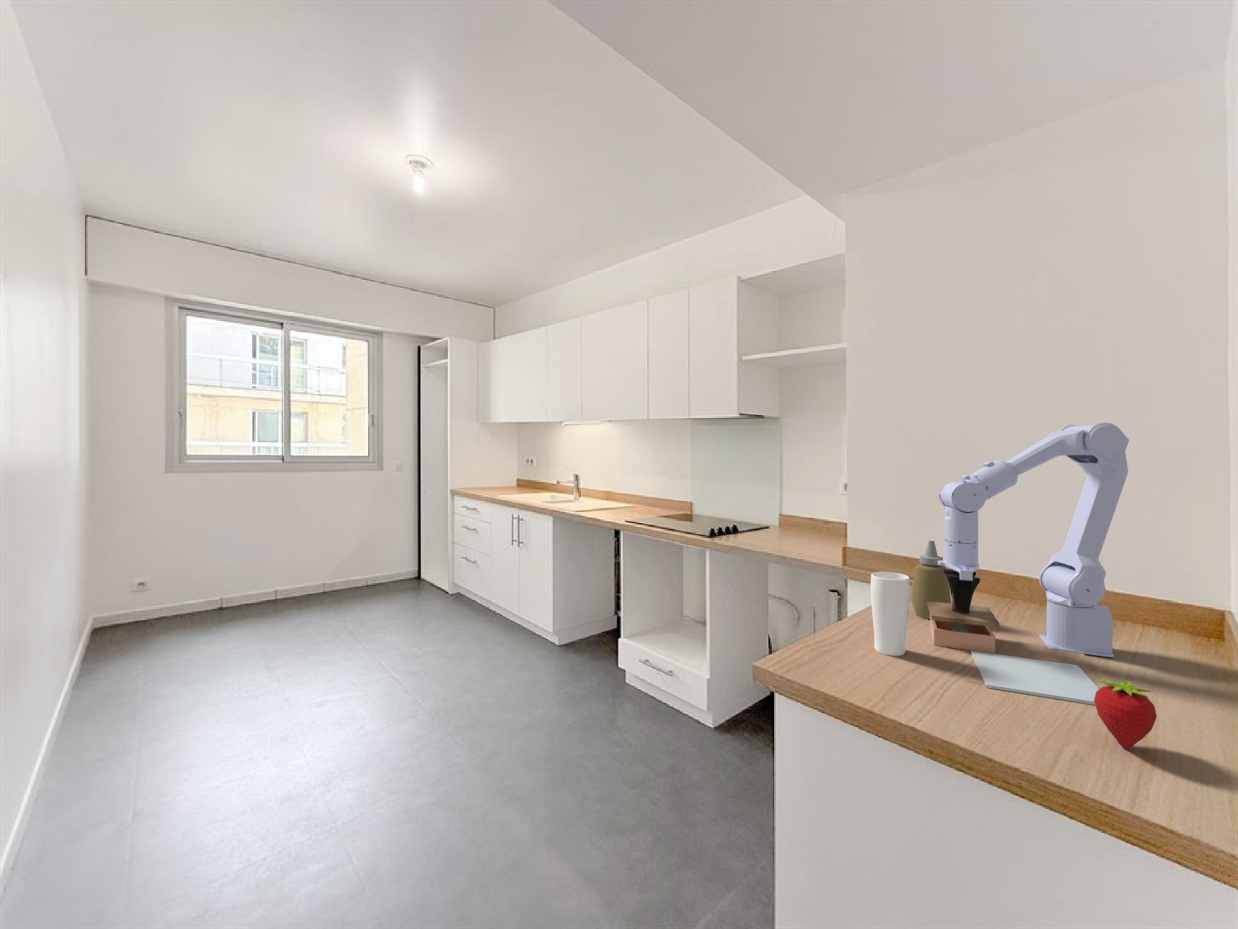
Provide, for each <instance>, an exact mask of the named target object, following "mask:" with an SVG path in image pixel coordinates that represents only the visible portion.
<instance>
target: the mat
mask: <svg viewBox="0 0 1238 929" xmlns="http://www.w3.org/2000/svg"><path fill="white" fill-rule="evenodd" d="M970 653H971V655H972V657H973V660H974V663H975V664H976V666H977V668H978V671H979V673H980V675H981V678H982V679H983V683H984V685H985V688H986V689H987V688H988V689H993V690H994V689H995V690H998V691H999V690H1000V691H1005V692H1012V693H1018V694H1025V695H1030V696H1037V697H1042V698H1043V697H1044V698H1050V699H1055V700H1062V701H1067V702H1074V703H1075V702H1076V703H1081V704H1086V705H1092V706H1095V703H1094V699H1095V694H1096V692H1097V690H1099V689H1100V688H1099V687H1098V685H1096V684H1095V683H1094V681H1093V680H1092V679H1091V678H1090V677H1089V676H1088V675H1087V674H1086V673H1085V672H1084V670H1083V669H1081V667H1080V666H1079V665H1078V664H1071V663H1065V662H1056V661H1048V660H1043V659H1035V658H1027V657H1020V656H1012V655H1006V654H1005V655H1004V654H997V653H987V652H980V651H973V650H970Z"/></svg>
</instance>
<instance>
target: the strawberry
mask: <svg viewBox="0 0 1238 929" xmlns="http://www.w3.org/2000/svg"><path fill="white" fill-rule="evenodd" d="M1116 672H1117V673H1118V674H1119V675H1120V676H1121V677H1122V678H1123V679H1124V680H1125V681H1123V682H1122V681H1121V682H1120V684H1119V683H1116V682H1114V681H1107V680H1101V679H1094V681H1096V682H1099V683H1101V684H1104V686H1102V687H1100V688H1099V690H1097V692H1096V694H1095V699H1094V703H1095V705H1094V707H1095V708H1096V712H1097V715H1098V717H1099V719H1100V720H1101V722H1102V723H1103V724H1104V726H1105V728H1106V729H1107V730H1108V731H1109V733H1110V734H1111V735H1112V736H1113V737H1114V739H1115V741H1117V743H1118V744H1119V745H1120V746H1121V747H1122V748H1123V749H1131V748H1133V747H1134V745H1136V744H1137V743H1139V742H1140V741H1142V740H1143V739H1144V738H1145V737H1146V736H1147V735H1148V734H1149V733H1150V732H1151V731H1152V730H1153V728H1154V725H1155V723H1156V720H1157V716H1158V715H1157V711H1156V707H1155V705H1154V704H1153V702H1152V701H1151V700H1150V699H1149V696H1148V695H1146V694H1144V693H1145V692H1146V693H1150V692H1151V690H1148V689H1144V688H1139V687H1137V686H1133V685H1131V683H1130V681H1128V679H1127V678H1126V677H1124V675H1122V674H1121V673H1120V672H1119V671H1118V670H1117V669H1116ZM1105 685H1106V686H1105Z"/></svg>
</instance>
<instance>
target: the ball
mask: <svg viewBox="0 0 1238 929" xmlns="http://www.w3.org/2000/svg"><path fill="white" fill-rule="evenodd" d="M952 631H961V632H968V630H967V629H966V628H965V627H963V626H955V627H954V628H953V629H952Z"/></svg>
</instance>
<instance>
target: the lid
mask: <svg viewBox="0 0 1238 929" xmlns="http://www.w3.org/2000/svg"><path fill="white" fill-rule="evenodd" d="M927 606H928V609H929V612H930V615H931V618H932V620H939V621H948V622H956V623H965V624H974V625H982V626H989V627H993V628H1000V622H999V621H998V619H997V617H996V616H995V615H994V613H993V612H992V611H991V609H990V607H989V606H981V605H970V608H969V611H960V610H956V608H955V604H954V599H953V593H952V596H951V603H942V602H932V601H927Z"/></svg>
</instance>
